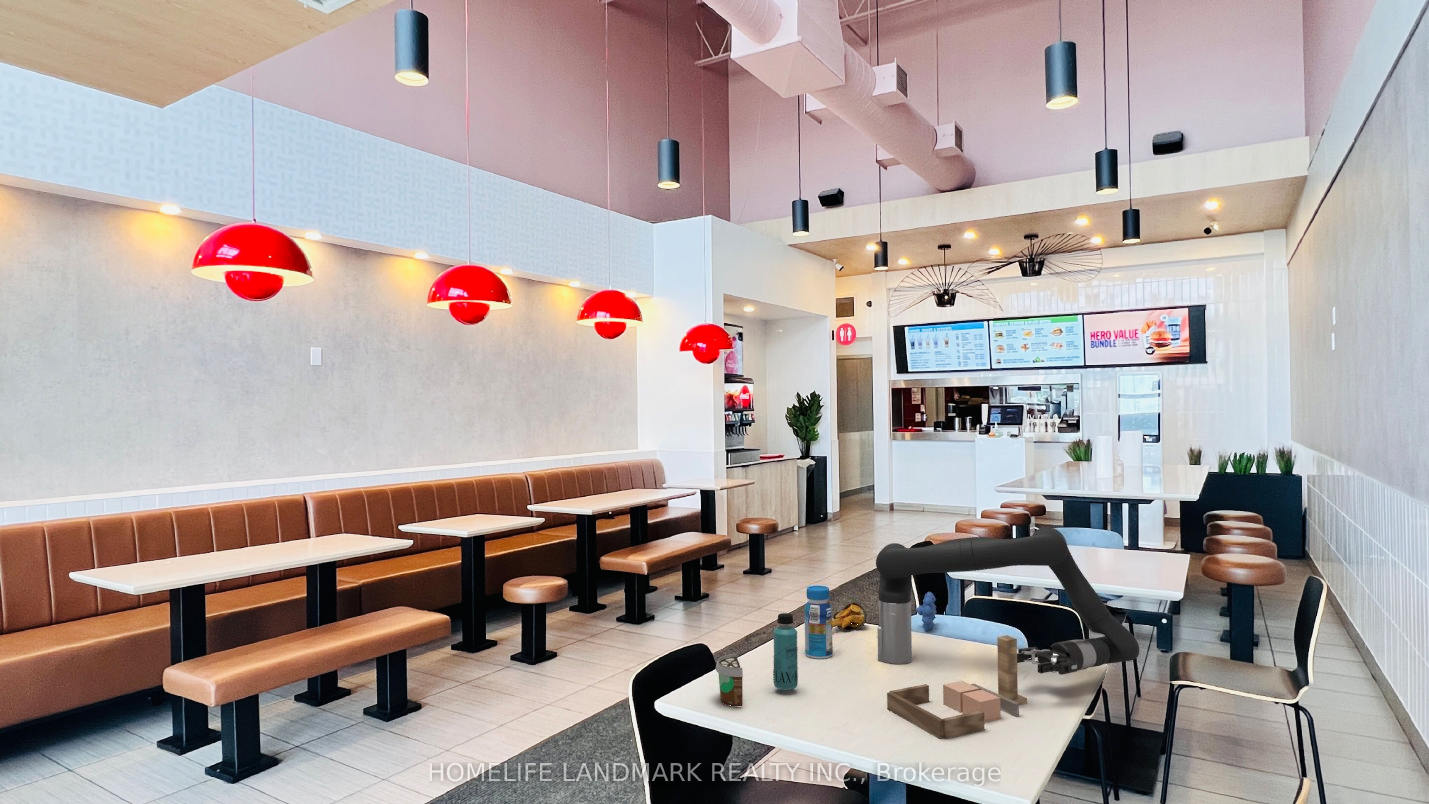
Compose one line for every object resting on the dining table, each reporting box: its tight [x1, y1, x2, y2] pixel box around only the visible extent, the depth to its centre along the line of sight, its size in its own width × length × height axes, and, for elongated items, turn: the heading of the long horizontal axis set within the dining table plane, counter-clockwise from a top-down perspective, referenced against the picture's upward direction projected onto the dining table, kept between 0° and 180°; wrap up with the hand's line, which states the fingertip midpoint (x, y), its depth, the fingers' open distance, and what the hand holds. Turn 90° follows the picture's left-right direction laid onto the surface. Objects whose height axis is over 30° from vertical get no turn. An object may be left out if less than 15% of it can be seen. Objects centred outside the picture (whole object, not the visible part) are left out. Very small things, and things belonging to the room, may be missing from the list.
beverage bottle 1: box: [772, 612, 799, 691], centre depth 206 cm, size 6×7×20 cm
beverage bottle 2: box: [803, 584, 834, 660], centre depth 236 cm, size 8×8×20 cm
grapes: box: [915, 591, 937, 632], centre depth 262 cm, size 12×7×12 cm, turn 155°
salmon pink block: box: [962, 690, 1001, 723], centre depth 188 cm, size 6×6×5 cm
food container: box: [715, 653, 744, 707], centre depth 200 cm, size 12×6×10 cm, turn 5°
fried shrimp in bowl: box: [832, 601, 867, 632], centre depth 261 cm, size 9×11×18 cm
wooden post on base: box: [970, 634, 1028, 718], centre depth 196 cm, size 9×15×16 cm, turn 24°
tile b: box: [942, 680, 979, 714], centre depth 194 cm, size 6×6×5 cm
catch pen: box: [886, 683, 985, 740], centre depth 187 cm, size 12×20×4 cm, turn 24°
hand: (1025, 663), depth 198 cm, fingers open, 8 cm apart
